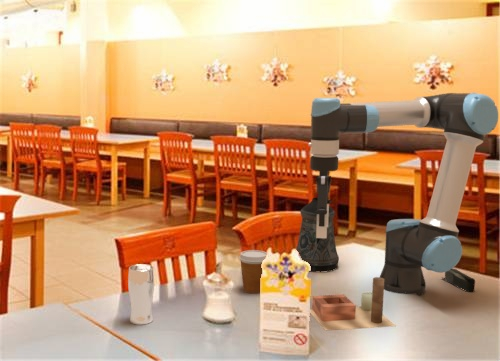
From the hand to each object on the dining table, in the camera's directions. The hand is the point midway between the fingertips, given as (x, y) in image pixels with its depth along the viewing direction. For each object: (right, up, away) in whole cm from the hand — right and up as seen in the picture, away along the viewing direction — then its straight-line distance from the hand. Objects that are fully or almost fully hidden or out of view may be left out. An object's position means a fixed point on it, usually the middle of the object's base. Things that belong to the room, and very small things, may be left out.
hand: (322, 232), depth 171 cm
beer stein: (+5, -17, +55) cm, 58 cm away
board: (+8, -25, +2) cm, 26 cm away
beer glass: (-50, -24, -2) cm, 55 cm away
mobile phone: (+49, -21, +36) cm, 65 cm away
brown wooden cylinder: (+15, -24, -1) cm, 28 cm away
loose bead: (+15, -23, +9) cm, 29 cm away
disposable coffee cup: (-19, -21, +26) cm, 39 cm away
